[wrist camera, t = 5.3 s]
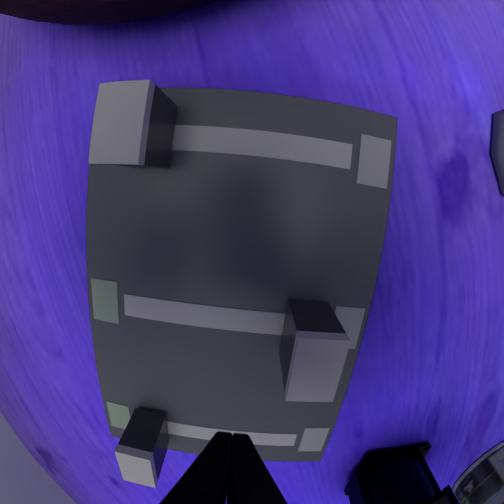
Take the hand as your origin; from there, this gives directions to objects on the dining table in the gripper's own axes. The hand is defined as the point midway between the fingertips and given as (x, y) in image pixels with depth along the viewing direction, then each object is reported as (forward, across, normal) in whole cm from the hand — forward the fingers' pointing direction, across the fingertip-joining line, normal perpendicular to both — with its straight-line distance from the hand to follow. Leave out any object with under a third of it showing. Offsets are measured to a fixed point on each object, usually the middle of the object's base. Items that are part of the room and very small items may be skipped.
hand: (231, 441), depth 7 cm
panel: (+10, +1, 0) cm, 10 cm away
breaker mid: (+8, -3, 0) cm, 9 cm away
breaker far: (+8, +5, +9) cm, 13 cm away
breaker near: (+8, +5, -8) cm, 13 cm away
